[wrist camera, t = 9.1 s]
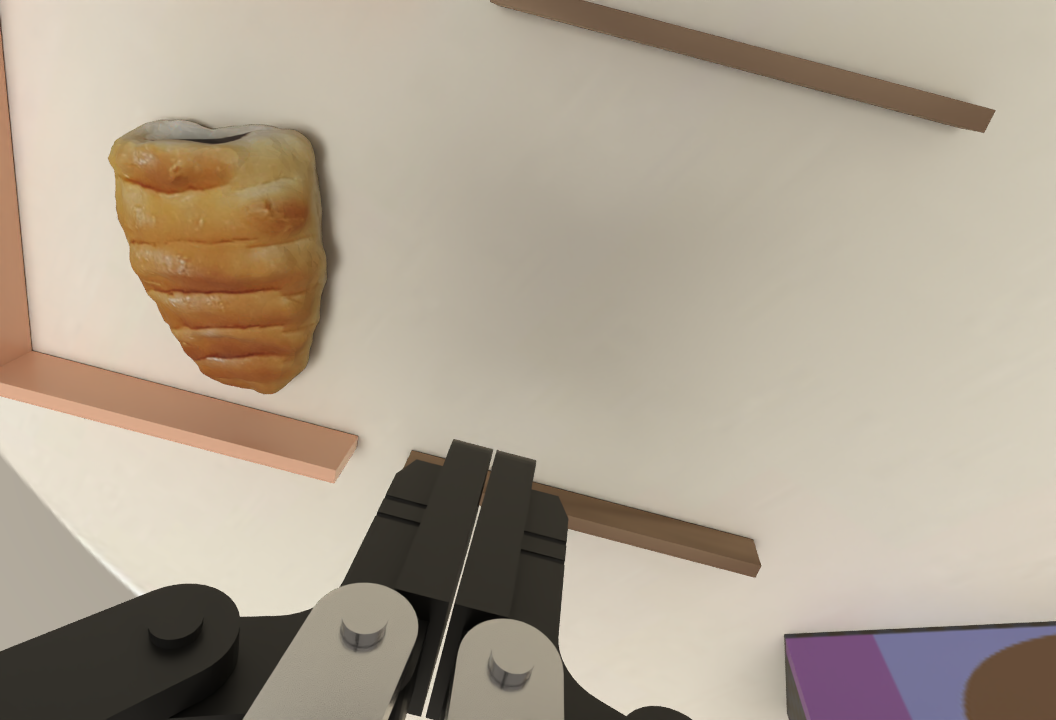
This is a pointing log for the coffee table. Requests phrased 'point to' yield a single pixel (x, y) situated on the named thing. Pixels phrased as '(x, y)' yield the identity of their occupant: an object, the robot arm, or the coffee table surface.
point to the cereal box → (924, 673)
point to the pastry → (226, 243)
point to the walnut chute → (568, 7)
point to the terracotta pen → (132, 403)
